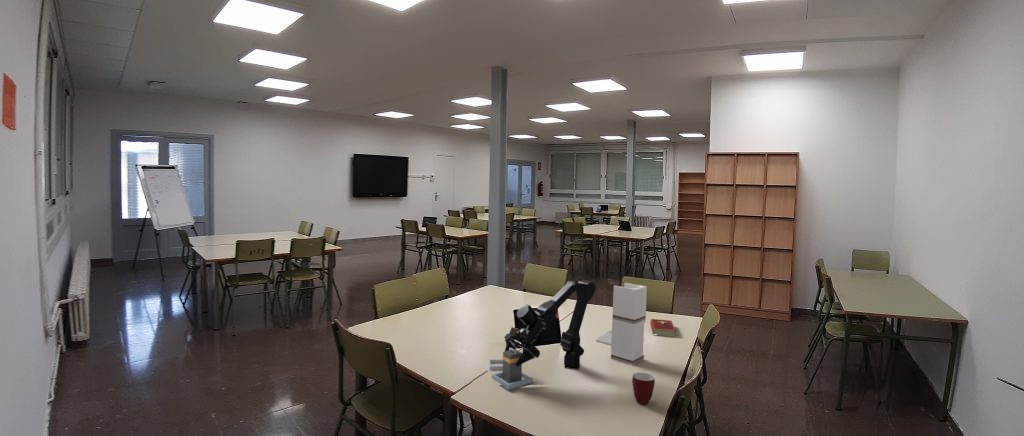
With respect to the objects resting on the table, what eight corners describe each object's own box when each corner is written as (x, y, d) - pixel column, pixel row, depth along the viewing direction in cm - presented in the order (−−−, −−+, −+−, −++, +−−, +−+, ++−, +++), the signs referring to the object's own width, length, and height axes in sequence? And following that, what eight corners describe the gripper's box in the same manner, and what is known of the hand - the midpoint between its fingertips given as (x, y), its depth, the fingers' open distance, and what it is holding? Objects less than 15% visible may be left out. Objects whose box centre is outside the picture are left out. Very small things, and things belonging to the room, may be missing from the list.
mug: (635, 393, 187) (636, 368, 186) (656, 398, 183) (657, 372, 182) (629, 404, 177) (630, 378, 177) (651, 409, 174) (652, 382, 173)
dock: (511, 363, 215) (511, 358, 215) (514, 372, 205) (514, 366, 205) (484, 364, 213) (485, 358, 213) (486, 372, 203) (486, 367, 203)
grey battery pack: (514, 377, 198) (515, 345, 197) (521, 381, 194) (522, 349, 193) (502, 380, 195) (503, 348, 194) (509, 384, 191) (510, 352, 190)
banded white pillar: (643, 359, 224) (647, 286, 222) (632, 365, 216) (635, 289, 214) (622, 353, 232) (625, 282, 230) (610, 358, 224) (613, 285, 222)
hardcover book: (652, 335, 262) (653, 328, 262) (650, 325, 283) (650, 318, 282) (675, 337, 260) (675, 330, 259) (671, 327, 280) (671, 320, 280)
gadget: (620, 349, 239) (621, 342, 239) (595, 342, 249) (596, 335, 249) (643, 339, 255) (643, 333, 255) (618, 333, 266) (618, 326, 266)
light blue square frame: (515, 374, 203) (515, 368, 203) (532, 384, 193) (532, 378, 193) (491, 380, 196) (491, 374, 196) (508, 390, 186) (508, 384, 186)
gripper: (508, 314, 203) (485, 344, 197) (535, 325, 187) (511, 358, 182) (522, 329, 208) (501, 359, 202) (549, 342, 192) (527, 374, 187)
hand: (509, 362), depth 193 cm, fingers open, 9 cm apart
